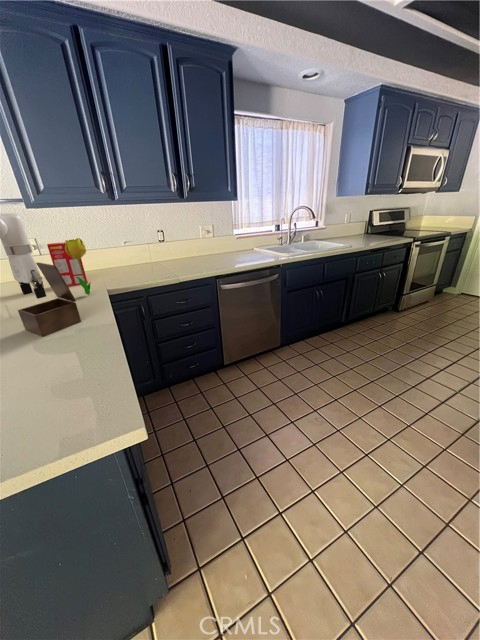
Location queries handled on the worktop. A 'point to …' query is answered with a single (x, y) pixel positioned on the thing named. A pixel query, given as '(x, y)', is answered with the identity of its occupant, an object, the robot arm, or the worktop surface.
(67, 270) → the food packaging
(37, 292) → the robot arm
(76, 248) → the flower
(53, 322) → the chest
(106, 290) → the worktop surface
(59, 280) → the lid
